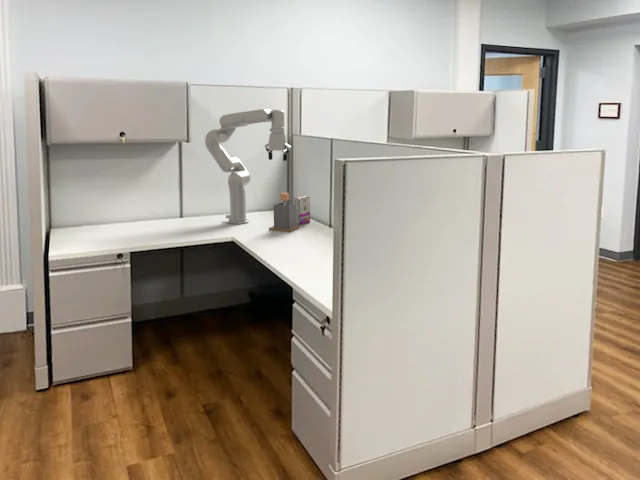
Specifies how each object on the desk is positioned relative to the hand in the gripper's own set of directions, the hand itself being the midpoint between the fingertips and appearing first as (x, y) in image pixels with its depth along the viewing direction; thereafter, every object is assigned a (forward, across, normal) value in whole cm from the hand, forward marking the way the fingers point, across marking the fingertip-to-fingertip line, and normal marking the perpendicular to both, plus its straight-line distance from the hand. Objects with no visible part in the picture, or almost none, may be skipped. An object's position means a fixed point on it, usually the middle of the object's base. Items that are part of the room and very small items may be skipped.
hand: (277, 160), depth 358 cm
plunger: (+37, +10, -10) cm, 40 cm away
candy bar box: (+39, +12, +10) cm, 42 cm away
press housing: (+39, +10, -10) cm, 42 cm away
